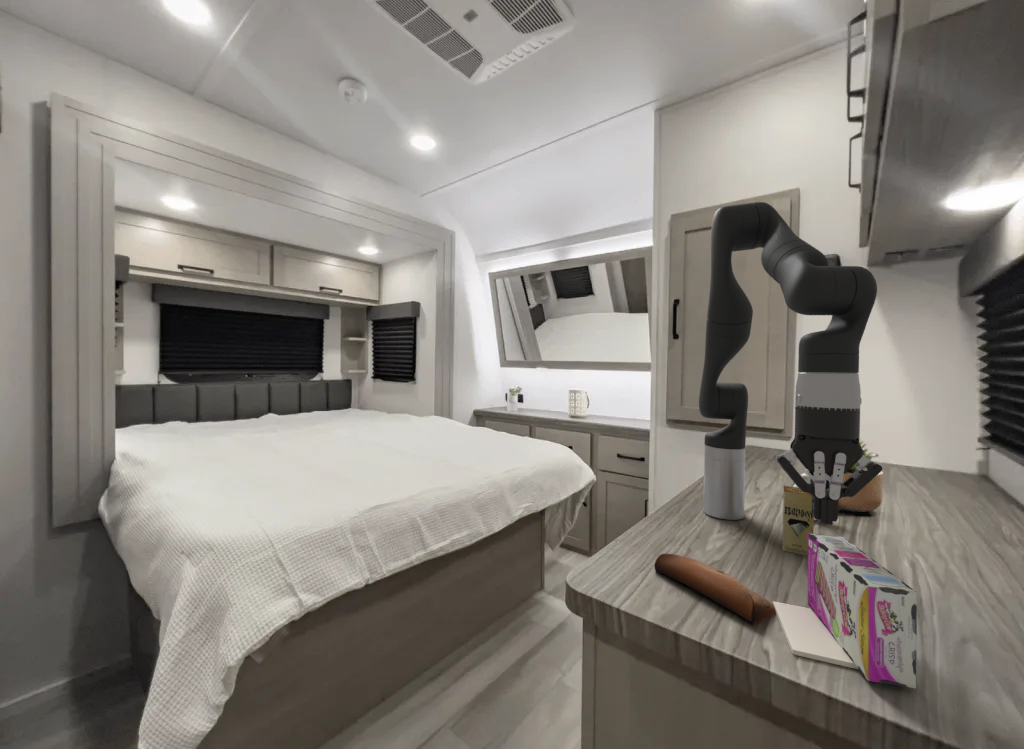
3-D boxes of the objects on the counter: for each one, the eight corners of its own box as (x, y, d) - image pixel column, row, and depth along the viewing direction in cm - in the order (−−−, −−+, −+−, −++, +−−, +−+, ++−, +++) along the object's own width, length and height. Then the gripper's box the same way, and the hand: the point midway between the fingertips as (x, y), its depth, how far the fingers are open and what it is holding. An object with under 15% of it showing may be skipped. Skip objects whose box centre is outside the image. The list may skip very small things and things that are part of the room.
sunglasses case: (786, 610, 62) (774, 577, 60) (762, 646, 59) (748, 613, 57) (685, 561, 78) (673, 534, 76) (662, 588, 75) (649, 560, 73)
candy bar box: (804, 532, 63) (866, 584, 47) (842, 535, 62) (920, 590, 46) (804, 605, 63) (867, 683, 47) (843, 610, 62) (920, 691, 46)
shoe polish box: (812, 556, 81) (814, 495, 81) (782, 550, 84) (783, 491, 83) (811, 547, 85) (812, 489, 85) (782, 542, 88) (783, 485, 88)
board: (772, 605, 64) (772, 601, 64) (870, 624, 59) (870, 620, 59) (792, 654, 52) (792, 649, 52) (914, 682, 48) (914, 677, 48)
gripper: (872, 404, 61) (869, 521, 61) (768, 400, 66) (766, 508, 66) (897, 408, 54) (894, 540, 54) (779, 403, 59) (776, 524, 59)
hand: (823, 522), depth 60 cm, fingers closed
